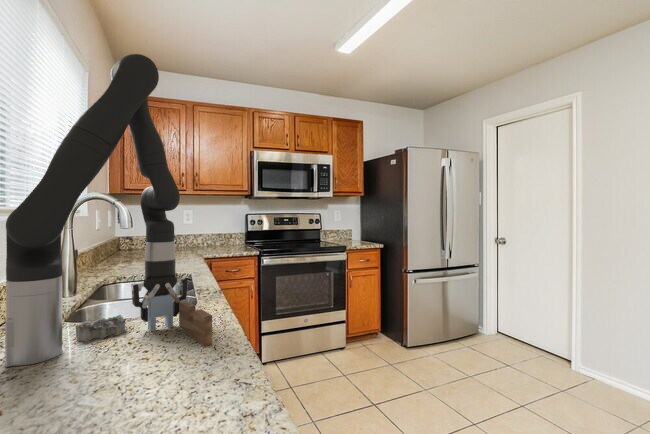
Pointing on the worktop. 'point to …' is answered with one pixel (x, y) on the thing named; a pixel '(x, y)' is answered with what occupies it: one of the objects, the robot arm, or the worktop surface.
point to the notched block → (160, 311)
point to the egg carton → (100, 328)
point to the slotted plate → (195, 323)
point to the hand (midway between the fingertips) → (160, 318)
